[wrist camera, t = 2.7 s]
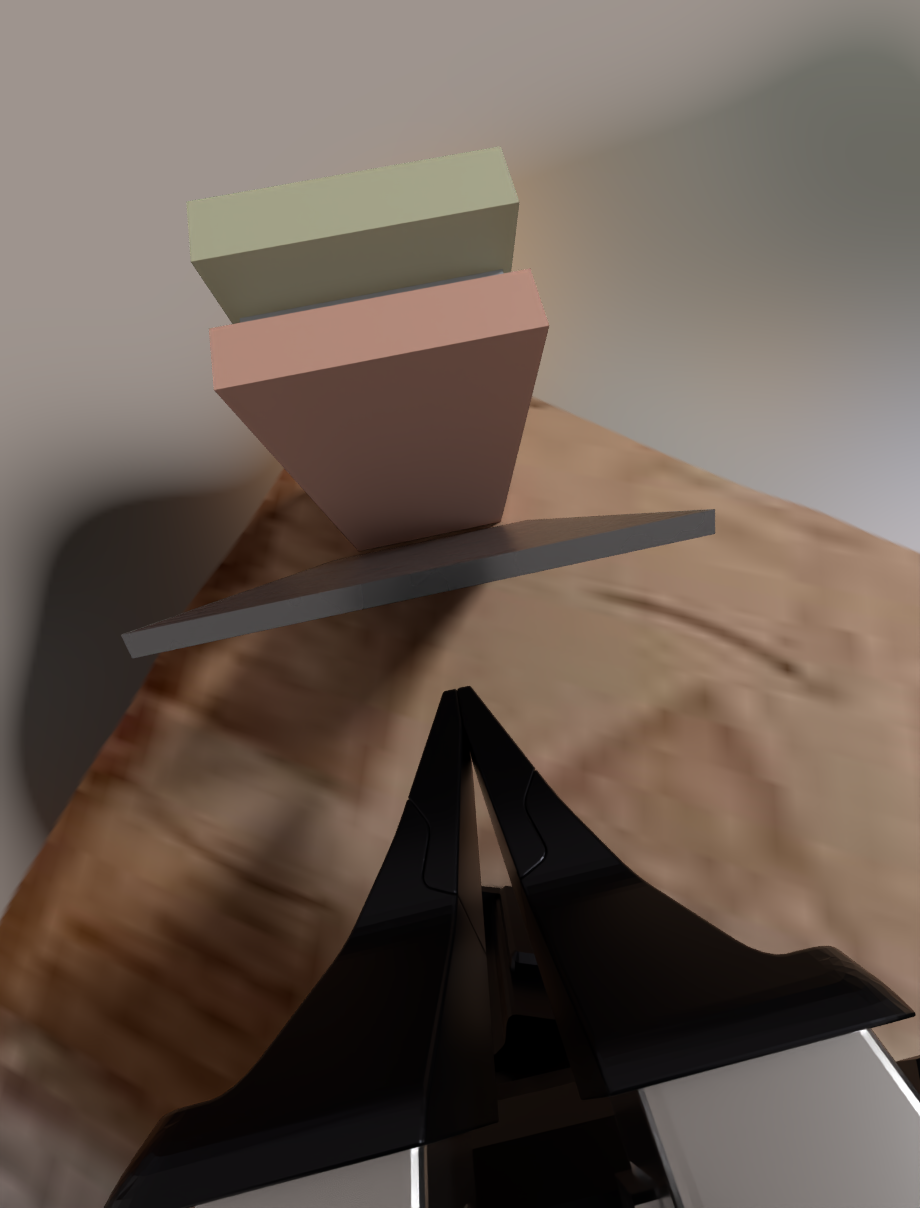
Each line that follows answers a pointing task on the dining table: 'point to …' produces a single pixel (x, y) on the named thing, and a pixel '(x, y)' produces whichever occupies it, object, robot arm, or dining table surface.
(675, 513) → the bookend
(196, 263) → the book row
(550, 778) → the dining table surface
